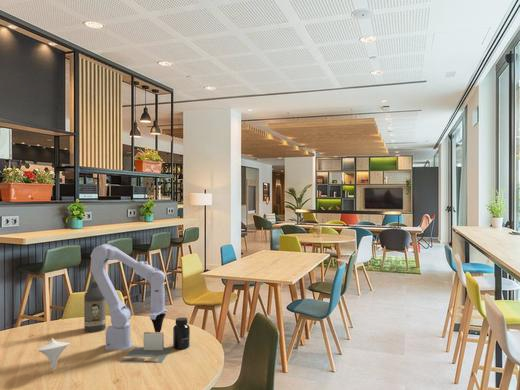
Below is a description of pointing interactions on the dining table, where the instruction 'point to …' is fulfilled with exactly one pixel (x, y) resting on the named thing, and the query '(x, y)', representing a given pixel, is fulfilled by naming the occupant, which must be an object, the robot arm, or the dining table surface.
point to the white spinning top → (53, 351)
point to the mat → (147, 354)
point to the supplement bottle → (181, 334)
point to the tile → (153, 340)
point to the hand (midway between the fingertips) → (157, 331)
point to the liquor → (94, 308)
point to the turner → (140, 359)
